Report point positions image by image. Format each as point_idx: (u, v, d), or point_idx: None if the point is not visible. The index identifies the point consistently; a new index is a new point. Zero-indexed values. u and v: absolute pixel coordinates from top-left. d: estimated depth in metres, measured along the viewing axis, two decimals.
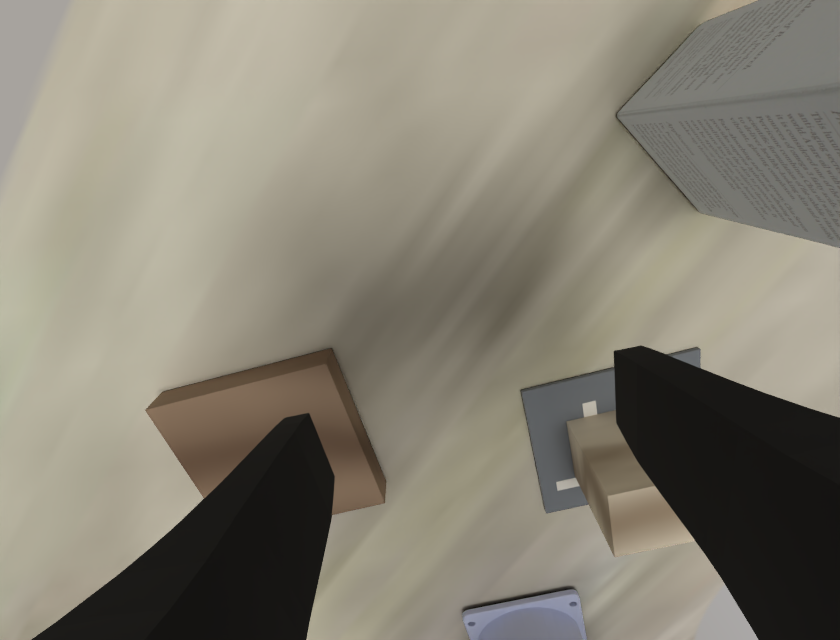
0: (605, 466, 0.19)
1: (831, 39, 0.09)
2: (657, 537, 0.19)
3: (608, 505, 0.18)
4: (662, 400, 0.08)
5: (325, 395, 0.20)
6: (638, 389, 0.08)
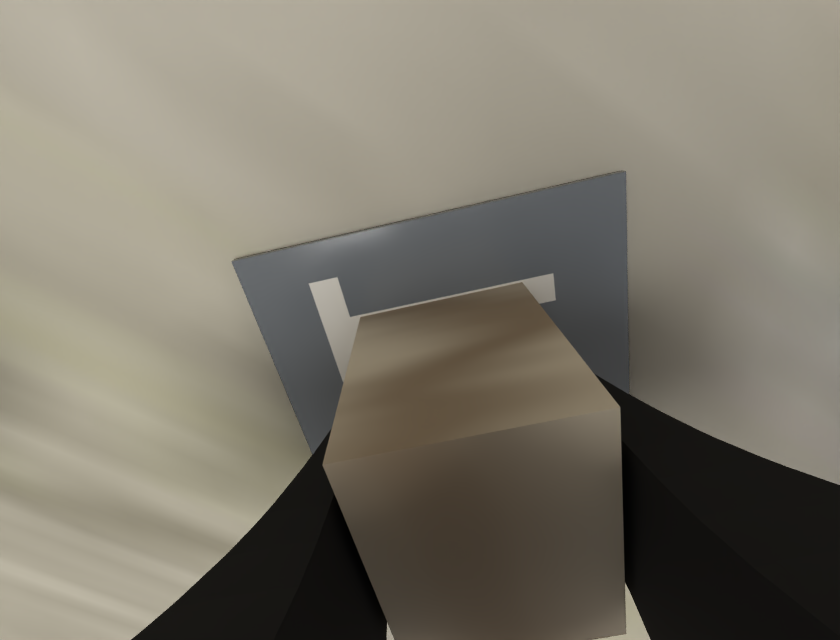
0: None
1: None
2: (574, 568, 0.07)
3: None
4: None
5: None
6: None
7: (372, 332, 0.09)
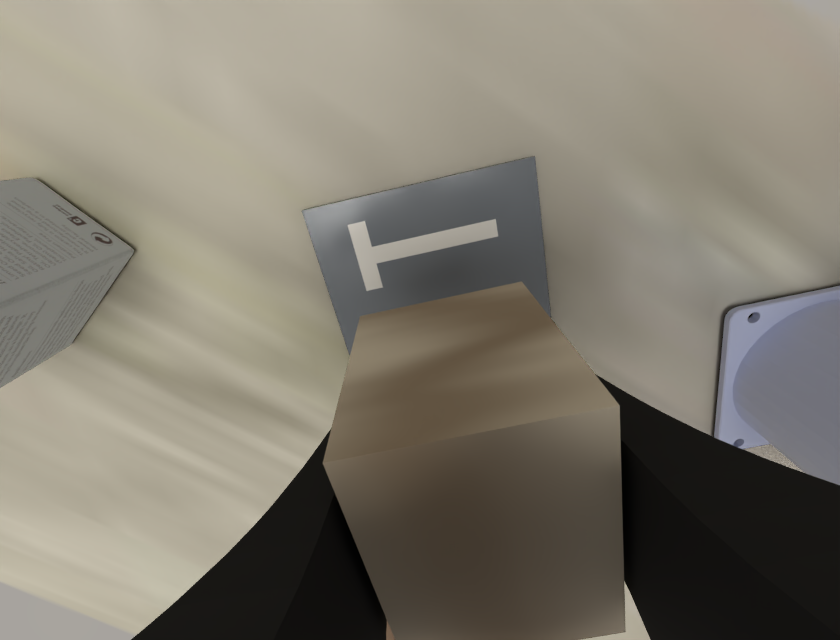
0: None
1: None
2: (573, 566, 0.07)
3: None
4: None
5: None
6: None
7: (372, 331, 0.09)
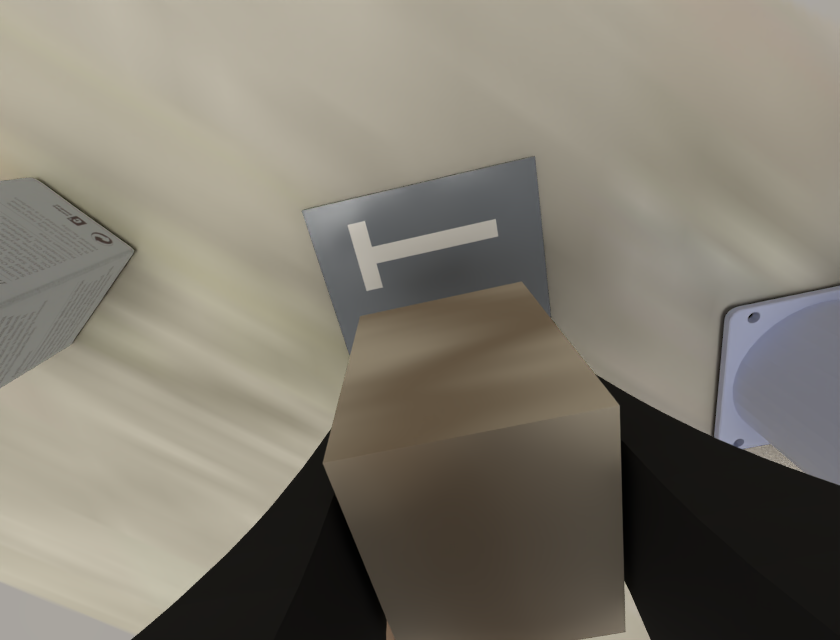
0: None
1: None
2: (573, 566, 0.07)
3: None
4: None
5: None
6: None
7: (372, 331, 0.09)
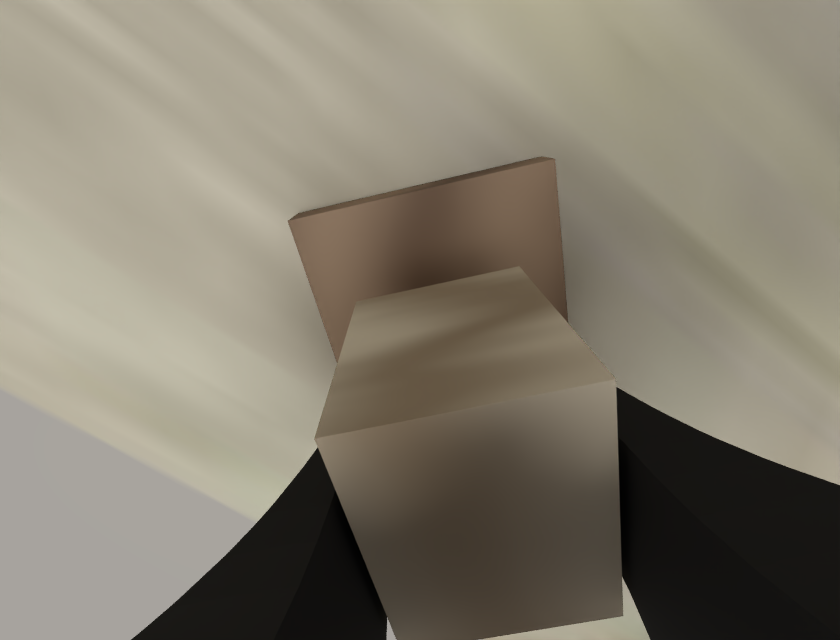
0: None
1: None
2: (570, 548, 0.07)
3: None
4: None
5: (338, 228, 0.14)
6: None
7: (367, 315, 0.09)
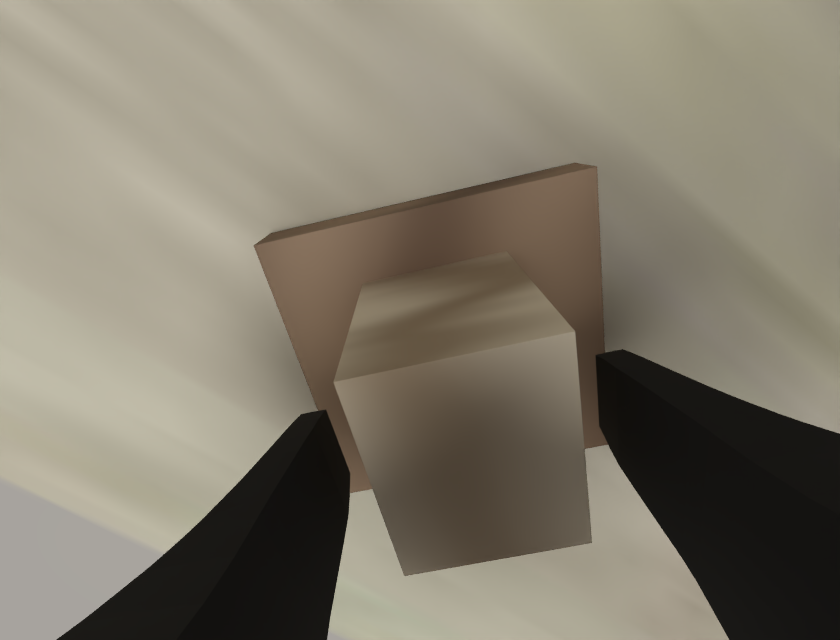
0: None
1: None
2: (544, 479, 0.08)
3: (433, 568, 0.09)
4: (640, 405, 0.08)
5: (319, 254, 0.11)
6: (618, 393, 0.08)
7: (373, 294, 0.10)
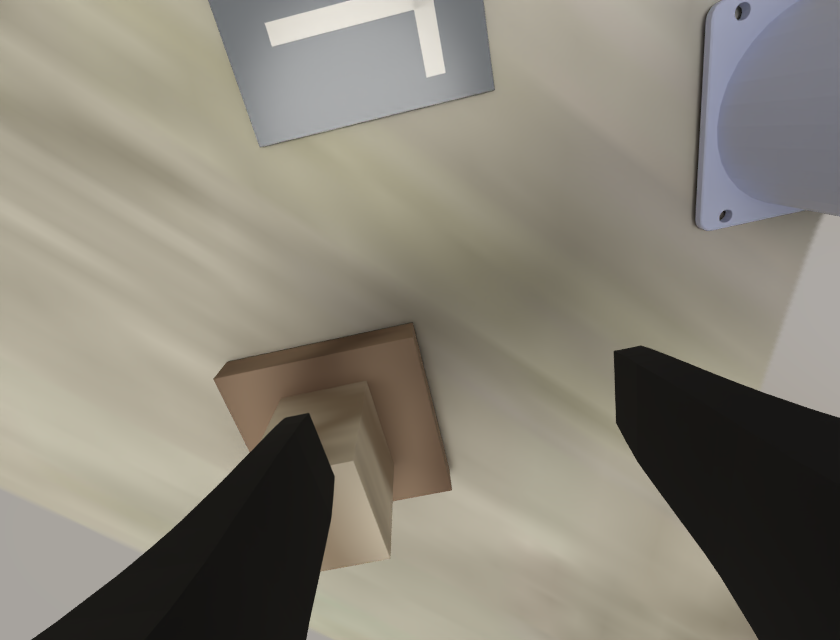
0: None
1: None
2: (355, 526, 0.15)
3: None
4: (662, 400, 0.08)
5: (253, 383, 0.18)
6: (638, 389, 0.08)
7: (282, 411, 0.18)
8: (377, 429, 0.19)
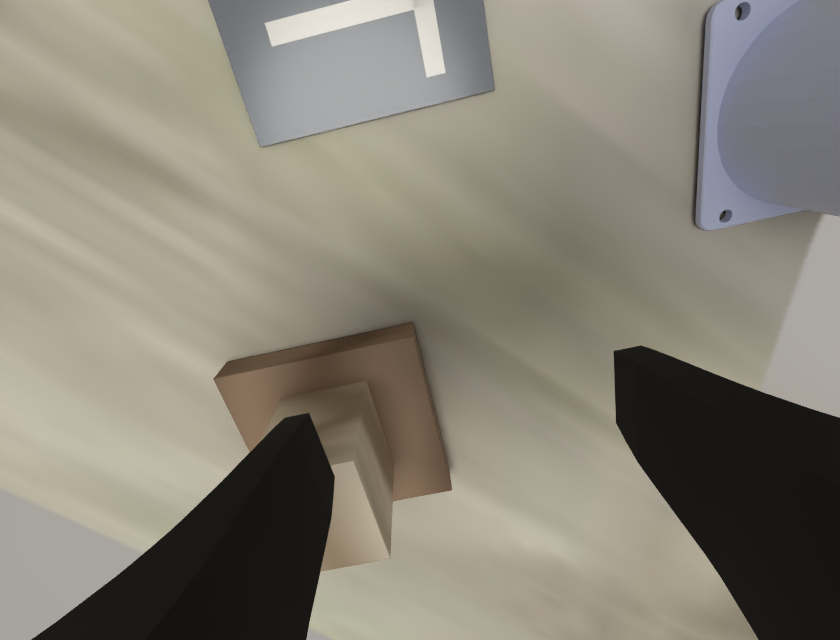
0: None
1: None
2: (355, 526, 0.15)
3: None
4: (662, 400, 0.08)
5: (253, 383, 0.18)
6: (638, 389, 0.08)
7: (282, 411, 0.18)
8: (377, 429, 0.19)
